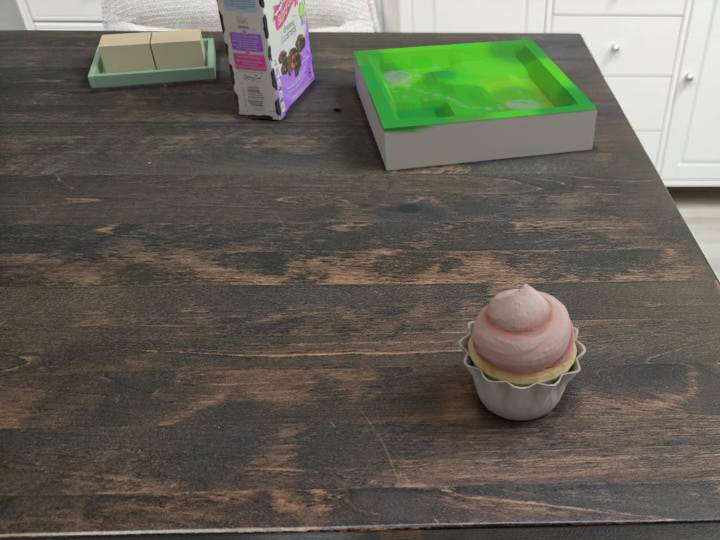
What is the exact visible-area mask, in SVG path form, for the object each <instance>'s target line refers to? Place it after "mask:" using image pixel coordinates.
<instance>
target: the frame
mask: <svg viewBox="0 0 720 540" xmlns="http://www.w3.org/2000/svg"><path fill="white" fill-rule="evenodd" d="M202 39H203V43H204V48H205V53H206V66H202V67H188V68H174V69H160V70H147V71H133V72H119V73H106V71H105V68H104V65H103V62H102V58H101V55H100V52H99V49H98V46H96V47H97V48H96V50H95V53H94V57H93V59H92V62H91V65H90V68H89V71H88V75H87V80H88V82H89V86H90V89H100V88H112V87H127V86H139V85H141V86H142V85H151V84H152V85H153V84H167V83H179V82H181V83H182V82H191V81H194V82H195V81H204V80H205V81H206V80H207V81H208V80H217V50H216V49H217V48H216V45H215V44H216V42H215V38H214V37H206V38H204V37H203V38H202Z"/></svg>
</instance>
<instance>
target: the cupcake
mask: <svg viewBox="0 0 720 540" xmlns="http://www.w3.org/2000/svg"><path fill="white" fill-rule="evenodd" d="M467 330H468V333H467V334H466V335H464V336H462V337H461V338H460V339H459V341H457V343H458V346H459V347H460V349H461V350H462V352H463V355H464V357H463V365H464V366H465V367H466V369H467V370H468V372H469V373H470V374H471V375H472V379H473V383H474V387H475V390H476V393H477V396H478V398H479V400H480V402H481V403H482V404H483V405H484V406H485V408H486V409H487V410H488V411H489V412H491V413H493V414H494V415H496V416H498V417H501V418H503V419H506V420H511V421H532V420H536V419H539V418H541V417H544V416H546V415H547V414H549V413H550V412H551V411H552V410H553V409H555V407H556V406H557V405H558V404H559V402H560V400H561V398H562V396H563V393H564V392H565V390H566V387H567V385H568V383H569V382H570V381H572V379H574V378H575V377H576V376H577V375H578V374H579V373H580V372H581V364H580V362H579V361H580V360H581V359H582V358H583V356H584V355H585V353H586V351H587V348H586V346H585V345H584V344H583V343H582V342H580V341H579V340H578V337H579V336H578V335H579V327H575V326H574V325H573V322H572V320H571V317H570V315H569V312H568V309H567V307H566V306H565V305H564V304H563V303H562V302H561V301H560V300H558V299H557V298H556V297H555V296H553V295H551V294H549V293H546V292H543V291H539V290H536V289H535V288H534V287H532V286H531V285H529V284H528V283H524V284H523V285H521V287H520V288H512V289H507V290H504V291H501V292H499V293H497V294H495V295H494V296H493V297H492V298H491V300H490V302H489V303H488V304H486V305H485V306H484V307H483V308H482V309H481V310H480V311H479V313H478V314H477V316H476V318H475V320H472V321H471V320H470V321H468V322H467Z"/></svg>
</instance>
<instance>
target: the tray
mask: <svg viewBox="0 0 720 540" xmlns="http://www.w3.org/2000/svg"><path fill="white" fill-rule="evenodd" d="M352 52H353V65H354V73H355V74H354V76H355V86H356V91H357V93H358V96H359V98H360V99H359V100H360V102H361V104H362V105H361V106H362V107H363V110H364V113H365V115H366V119H367V121H368V124H369V126H370V129H371V132H372V134H373V137H374V140H375V143H376V145H377V148H378V150H379V154H380V156H381V159H382V161H383V164H384V167H385V169H386V171H396V170H406V169H416V168H426V167H436V166H437V167H438V166H444V165H446V166H447V165H456V164H463V163H464V164H465V163H473V162H483V161H485V162H486V161H493V160H503V159H511V158H523V157H532V156H534V157H535V156H541V155H552V154H561V153H570V152H579V151H590V150H591V151H592V150H593V148H594V139H595V132H596V131H595V130H596V124H597V115H598V108H597V107H596V106H595V104H594V103H592V101H590V100H589V98H588V97H587V96H586V95H585V94H584V93H583V92H582V91H581V90H580V89H579V88H578V86H576V84H575V83H574V82H573V81H571V79H570V78H569V77H568V76H567V74H565V73H564V72H563V71H562V70H561V69H560V68H559V66H557V65H556V63H555V62H554V61H553V60H552V59H551V58H550V57H549V56H548V55H547V54H546V53H545V52H544V51H543V50H542V48H541V47H539V46H538V44H537V43H536V42H535V41H534V40H533V39H532V38H525V39H524V38H523V39H511V40H497V41H482V42H480V41H479V42H467V43H454V44H453V43H452V44H437V45H424V46H423V45H422V46H409V47H408V46H407V47H393V48H379V49H364V50H353V51H352Z"/></svg>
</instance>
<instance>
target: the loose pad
mask: <svg viewBox="0 0 720 540" xmlns="http://www.w3.org/2000/svg"><path fill="white" fill-rule="evenodd" d="M151 37H152V31H142V32H128V33H127V32H126V33H111V34H110V33H109V34H101V37H100V39H99V43H98V45H97V47H98V49H99V52H100V55H101V58H102V62H103V65H104V68H105V71H106V73H119V72H133V71H147V70H157V67H156V63H155V60H154V56H153V52H152V48H151V44H150V43H151Z"/></svg>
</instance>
